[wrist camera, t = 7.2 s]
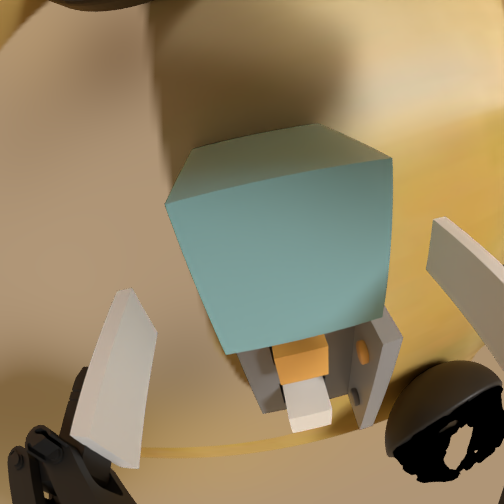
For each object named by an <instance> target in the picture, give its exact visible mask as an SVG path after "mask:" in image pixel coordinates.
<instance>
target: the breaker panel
mask: <svg viewBox="0 0 504 504" xmlns="http://www.w3.org/2000/svg"><path fill="white" fill-rule="evenodd" d="M324 335H325V338H326V341H327V344H328V374H327V375H323V379H324V383H325V386H326V389H327V393H328V396H329V399H332V398H335V397H339V396H342V395H346V394H348V396H349V399H350V402H351V405H352V408H353V411H354V414H355V418H356V421H357V424H358V427H359V430H361V429H364V428H367V427H370V426H372V425H373V423H374V421H375V418H376V416H377V413H378V411H379V408H380V406H381V403H382V401H383V398H384V395H385V393H386V390H387V387H388V384H389V381H390V379H391V376H392V373H393V370H394V366H395V363H396V360H397V357H398V354H399V350H400V347H401V343H402V340H403V336H402V335H401V333H400V331H399V329H398V328H397V326H396V324H395V322H394V321H393V319H392V317H391V316H390V314H389V312H388V311H387V309H386V307H385V306H384V310H383V317H381V318H378V319H375V320H372V321H368V322H365V323H362V324H358V325H355V326H351V327H348V328H344V329H341V330H337V331H333V332H329V333H326V334H324ZM237 356H238V358H239V361H240V363H241V365H242V368H243V370H244V372H245V375H246V377H247V379H248V382H249V384H250V386H251V388H252V391H253V393H254V395H255V397H256V400H257V402H258V404H259V406H260V408H261V410H262V413H263V414H264V413H270V412H275V411H279V410H285V409H287V406H286V401H285V396H284V390H283V385H281V383H280V380H279V376H278V372H277V368H276V364H275V361H274V356H273V350H272V346H270V347H265V348H260V349H255V350H250V351H245V352H239V353H237Z"/></svg>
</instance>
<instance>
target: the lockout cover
mask: <svg viewBox="0 0 504 504" xmlns="http://www.w3.org/2000/svg"><path fill="white" fill-rule="evenodd" d="M392 206H393V165H392V158H391V157H389V156H387V155H385V154H384V153H382V152H380V151H378V150H376V149H374V148H372V147H370V146H368V145H366V144H363V143H361V142H359V141H357V140H355V139H353V138H351V137H349V136H346V135H344V134H342V133H340V132H337V131H335V130H333V129H330V128H328V127H326V126H323V125H321V124H318V123H317V124H310V125H303V126H297V127H291V128H285V129H279V130H274V131H268V132H263V133H258V134H253V135H249V136H244V137H239V138H235V139H231V140H226V141H222V142H218V143H214V144H210V145H206V146H202V147H198V148H195V149H192V151H191V152H190V154H189V156H188V158H187V160H186V162H185V164H184V166H183V168H182V170H181V172H180V174H179V176H178V178H177V180H176V182H175V184H174V186H173V188H172V190H171V192H170V194H169V196H168V199H167V200H166V203H165V207H166V210H167V213H168V215H169V218H170V221H171V224H172V226H173V229H174V232H175V234H176V237H177V240H178V242H179V245H180V247H181V250H182V253H183V255H184V258H185V260H186V263H187V266H188V268H189V271H190V273H191V276H192V278H193V280H194V283H195V285H196V288H197V290H198V293H199V295H200V297H201V300H202V302H203V305H204V307H205V309H206V312H207V314H208V316H209V318H210V321H211V323H212V325H213V328H214V330H215V332H216V334H217V337H218V339H219V341H220V343H221V345H222V348H223V350H224V352H225V354H226V355H228V354H234V353H239V352H245V351H250V350H255V349H260V348H265V347H270V346H275V345H279V344H284V343H289V342H293V341H297V340H301V339H306V338H310V337H314V336H318V335H322V334H326V333H329V332H333V331H337V330H341V329H344V328H348V327H351V326H355V325H358V324H362V323H365V322H368V321H372V320H375V319H378V318H381V317H383V310H384V303H385V296H386V288H387V280H388V270H389V260H390V247H391V231H392Z"/></svg>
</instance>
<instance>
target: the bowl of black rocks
mask: <svg viewBox="0 0 504 504" xmlns="http://www.w3.org/2000/svg"><path fill="white" fill-rule="evenodd" d="M502 391H503V388H502V381H501V380H500V379H499V377H498V376H497V375H496V374H495V373H494V372H493V371H492V370H490V369H489V368H487V367H485V366H483V365H481V364H479V363H475V362H471V361H463V360H462V361H450V362H446V363H442V364H439V365H437V366H434V367H432V368H430V369H428V370H426V371H425V372H423V373H422V374H420V375H419V376H418V377H416V378H415V379H414V380H413V381H412V382H411V383H410V384H409V385H408V386H407V387H406V388H405V389H404V390H403V392H402V393H401V394H400V396H399V397H398V399H397V400H396V402H395V404H394V406H393V408H392V410H391V412H390V415H389V418H388V421H387V426H386V432H385V447H386V453H387V455H388V456H389V457H395V458H396V459H397V460H398V461H399V463H400V464H401V465H403V469H404V471H406V472H407V473H409V474H411V475H414V474H416V475H417V477H418V478H417V481H419V482H422V483H428V482H446V481H452V480H454V479H456V478H458V476H459V474H460V471H461V470H462V469H465V470H468V469H470V468H471V467H472V466H473V465H474V464H475V463H476V462H478V463H481V462H482V461H483V460H484V459H485V458H487V457H488V456H489V455H491V454H492V453H493V452H494V451H495V448H496V447H499V446H500V445H501V443H502V441H503V439H504V410H503V408H502V399H501V393H502ZM466 424H467V425H468V426H469V427H473V431H472V437H471V439H470V443H469V446H468V449H467V454H466V456H465V458H464V459H463V460H462V461H461V463H460V465H459V466H458V467H457V469H456V470H453V469H449V468H448V467H447V466H446V465H445V463H444V456H445V454H446V449H447V448H448V446H449V443H450V438H451V436H452V435H453V434H455V433H456V432H457V430H458V429H459V427H460V428H462V427H463V426H464V425H466ZM475 450H478V451H477V452H476V453H475V452H474V451H475Z"/></svg>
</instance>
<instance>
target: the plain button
mask: <svg viewBox="0 0 504 504" xmlns="http://www.w3.org/2000/svg"><path fill="white" fill-rule="evenodd" d="M283 390H284V396H285V401H286V406H287V412H288V417H289V421H290V425H291V429H292V432H293V433H296V432H301V431H305V430H309V429H314V428H318V427H322V426H326V425H330V424H331V420H332V407H331V403H330V400H329V396H328V393H327V389H326V386H325V383H324V379H323V376H319V377H315V378H311V379H307V380H303V381H299V382H294V383H290V384H285V385H283Z"/></svg>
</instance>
